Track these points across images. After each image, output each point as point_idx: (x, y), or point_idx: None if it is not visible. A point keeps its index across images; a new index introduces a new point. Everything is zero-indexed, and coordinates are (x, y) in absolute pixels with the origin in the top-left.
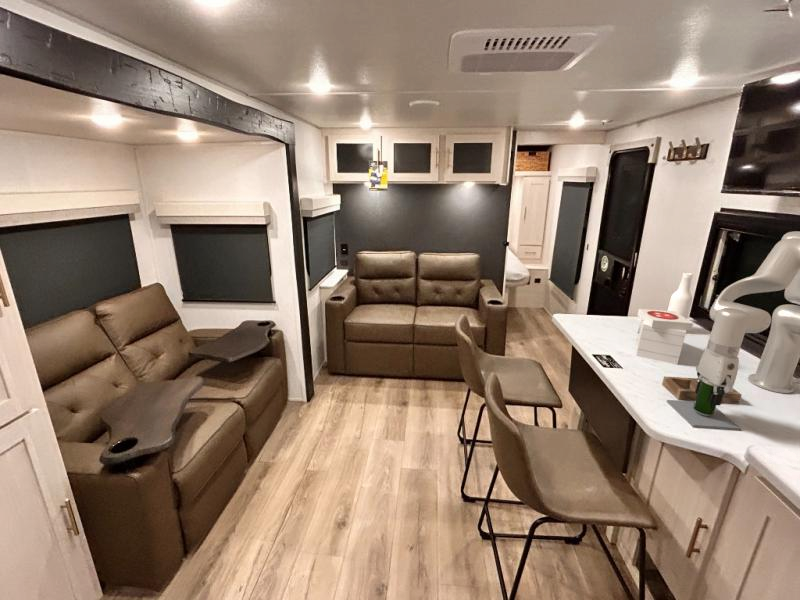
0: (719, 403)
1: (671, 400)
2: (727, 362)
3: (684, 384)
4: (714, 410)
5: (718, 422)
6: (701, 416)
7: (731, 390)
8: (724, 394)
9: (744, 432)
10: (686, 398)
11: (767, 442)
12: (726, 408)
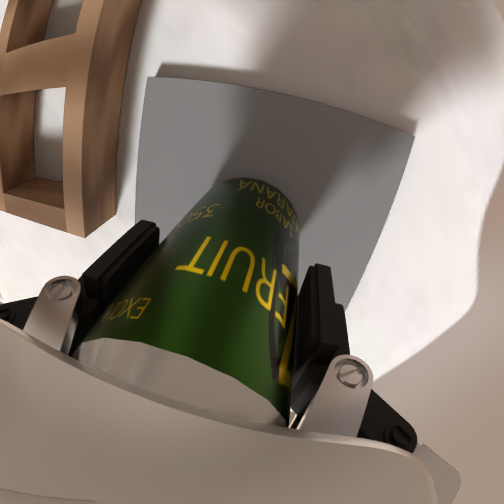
0: (341, 304)
1: None
2: None
3: (20, 114)
4: (293, 218)
5: (345, 214)
6: None
7: (446, 492)
8: (374, 395)
9: (425, 133)
10: (110, 179)
11: (492, 113)
12: (199, 8)
